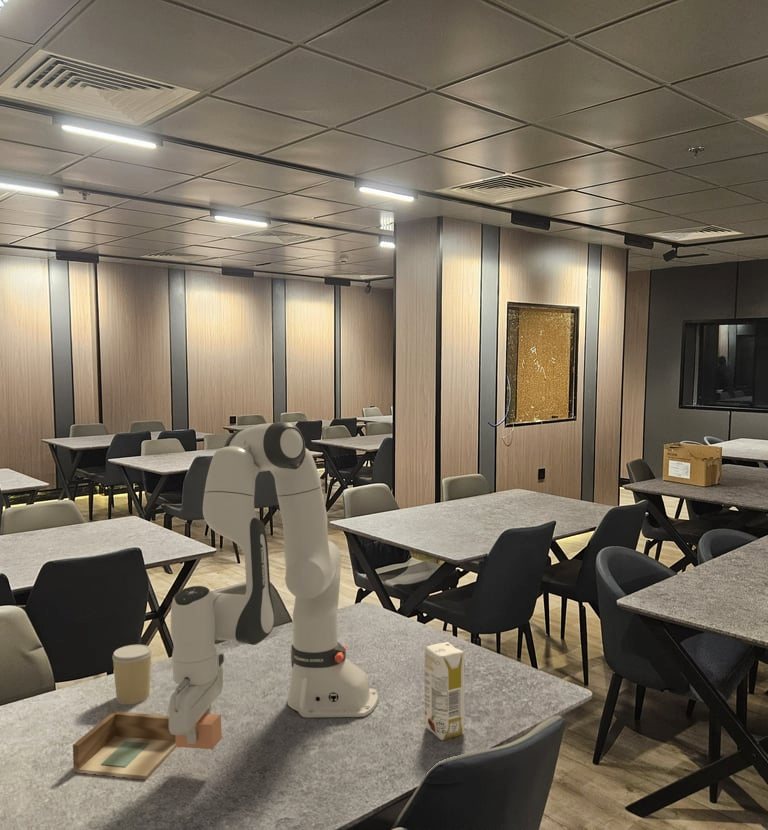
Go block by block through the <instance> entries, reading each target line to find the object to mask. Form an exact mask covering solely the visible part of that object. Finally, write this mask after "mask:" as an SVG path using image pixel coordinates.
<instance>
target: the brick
mask: <svg viewBox="0 0 768 830" xmlns="http://www.w3.org/2000/svg"><path fill="white" fill-rule="evenodd" d="M195 730H196V732H198V740H197V741H196V743H195V744H189V743H187V735H175V740H176V748H187V749H203V750H213V749H214V748H215V747H216V746H217V745H218V744H219V742H220V741H221V740H222V738H223V734H222V733H223V732H222V715H221V714H219V713H218V714H213V713H210V714H203V715H202V717H201V718H200V719H199V720H198V721H197V723H196V727H195Z"/></svg>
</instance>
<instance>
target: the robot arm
mask: <svg viewBox="0 0 768 830" xmlns="http://www.w3.org/2000/svg"><path fill="white" fill-rule="evenodd" d="M260 472H261V473H262V472H270V473H271V474H272V476H273V478H274V485H275V491H276V495H277V502H278V507H279V512H280V516H281V522H282V530H283V547H284V548H283V549H284V550H283V551H284V552H283V553H284V562H285V563H284V565H285V576H284V577H285V578H284V579H285V580H284V581H285V585H286V588H287V589H288V591H289V592H290V593H291V595H293V597H294V606H293V609H292V610H293V611H292V644H291V647H290V648H291V649H290V663H291V668H292V673H291V682H290V687H289V693H288V697H287V699H286V703H287V705H288V707H289V708H291V709H292V710H294V711H296V712H298V713H299V715H300V716H301V717H303V718H362V717H366V716H368V715H369V714H371V713H372V712H373V711H374V710H375V709H376V707H377V705H378V703H379V693H378V692H377V690H376V689H375V688H371V687H370V684H369V680H368V676H367V674H366V673H365V671H364V670H363V669H361V668H360V667H359V666H357V665H355V664H354V663H353V662H351V660H349V659H348V658H346V657H347V654H346V651H347V644H344V646H343V645H342V644H340V642H339V641H338V640H339V639H338V638H339V637H338V636H339V635H338V632H339V631H338V623H339V621H338V615H339V614H338V612H339V611H338V610H339V599H340V588H341V587H340V584H341V569H342V568H341V566H342V565H341V564H342V563H341V562H342V557H341V556H342V555H341V551H340V549H339V548H338V546H337V545H336V543H334V542H333V541H331V540H330V539H329V537H328V536H329V535H328V533H329V532H328V531H329V530H328V519H329V518H328V514H327V512H328V511H327V508H326V502H325V497H324V492H323V488H322V483H321V479H320V473H319V471H318V467H317V464H316V462H315V460H314V457H313V455H312V452H311V451H310V450H309V449H308V448H307V447H306V442H305V438H304V436H303V434H302V432H301V430H300V429H299V427H298V426H297V425H295V424H294V423H291V422H286V421H276V422H272V423H271V422H269V423H268V422H267V423H266V422H265V423H259V424H257V425H254V426H250V427H247V428H242V429H239V430H237V431H235V432H233V433H232V434H231V435H230V436H229V437H228V438H227V439H226V441H225V443H224V446H223V447H222V448H219V449H218V450H217V451H215V453H214V454H213V456H212V458H211V461H210V464H209V468H208V472H207V476H206V481H205V485H204V493H203V499H202V501H203V502H202V515H203V518H204V521H205V522H206V524H207V525H208V527H209V528H210V529H211V530H212V531H214V532H215V533H216V534H218V535H219V536H222V537H224V538H225V539H228V540H229V541H232V542H233V543H235V544H236V545H238V547H239V548H240V549H241V551H242V552H243V556H244V567H245V583H246V584H245V585H246V586H245V587H246V592H245V593H244V594H238V593H236V594H235V593H227V592H215V591H211V590H210V589H209V588H208V587H206V586H203V585H195V586H189V587H185V588H183V589H181V590H179V591H178V592H177V593H175V594H174V596H173V598H172V602H171V608H170V609H171V610H170V637H171V640H172V644H173V650H172V655H171V658H172V660H171V661H172V663H171V664H172V676H173V677H172V679H173V681H174V683H175V684H177V686H176V687H175V689H174V691H173V693H172V694H171V696H170V699H169V702H168V703H169V704H168V716H169V731H170V733H171V734H173V735H187V743H189V744H195V743H196V741H197V740H198V732H196V730H195V727H196V723H197V721H198V720H199V719H200V718H201V717H202V715H203V714H211V711H212V704H213V703H214V702H215V701H216V699H217V698H218V697H219V696H220V695H221V693H222V691H223V687H224V686H223V685H224V665H223V663H224V662H225V652H223V651H218V650H217V647H216V644H215V641H216V640H218V641H228V642H237V643H241V644H247V645H253V646H255V645H258V644H260V643H261V642H263V641H264V640H265V639H266V638H267V637H268V636H269V635H270V634H271V632H272V631H273V629H274V626H275V609H274V605H273V599H272V594H271V592H272V591H271V580H270V579H271V578H270V577H271V576H270V565H269V564H270V563H269V561H270V560H269V548H268V547H269V545H268V538H267V537H268V535H267V531H266V527H265V524H264V522H263V521H262V520H260V519H259V518H258V516H257V513H256V509H255V494H256V493H255V492H256V479H257V476H258V474H259V473H260Z"/></svg>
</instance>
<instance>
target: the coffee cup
mask: <svg viewBox="0 0 768 830" xmlns="http://www.w3.org/2000/svg"><path fill="white" fill-rule="evenodd" d="M152 653H153V652H152V649H151V647H150V646H148V645H145V644H129V645H125V646H122V647H119V648H117V649H115V651H113V654H112V656H111V657H112V663H113V664H112V665H113V674H114V684H115V695H116V701H117V702H118V703H119V704H121V703H122V705H135V704H139V702H140V703H142V702H144V701H146V700H148V698H149V696H150V690H151V689H150V687H151V670H152V669H151V668H152Z"/></svg>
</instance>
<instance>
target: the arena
mask: <svg viewBox="0 0 768 830" xmlns="http://www.w3.org/2000/svg"><path fill="white" fill-rule="evenodd" d="M176 748H177V747H176V740H175V735H173V734H171V733H170V731H169V715H161V714H160V715H159V714H152V713H151V714H148V713H140V712H139V713H137V712H126V711H116V710H115V711H112V712H110V713H109V714H108V715H107V716H106V717H104V718H103V719H102V720H100V722H99V723H97V724H96V725H95V726H94V727H92V728H91V729H90V730H89V731H88V732H87V733H86V734H84V735H83V736H82V737H81V738H79V739H78V740H77V741H75V743H73V744H72V756H73V757H72V760H73V761H72V762H73V763H72V764H73V765H72V766H73V773H74V772H77V773H76V774H83V773H87V774H86V775H93V774H96V775H95V776H102V775H106V776H105V777H112V776H115V777H114V778H122V777H125V778H124V779H132V778H134V780H142V779H143V781H146V780H148V778H149V777H150V776H151V775H152V774H153V773H154V772H155V771H156V770H157V769H158V768H159V766H160V765H162V763H163V762H164V761H165V760H166V759H167V758H168V757H169V755H170V754H171V753H172V752H173V751H174V750H175V749H176Z"/></svg>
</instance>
